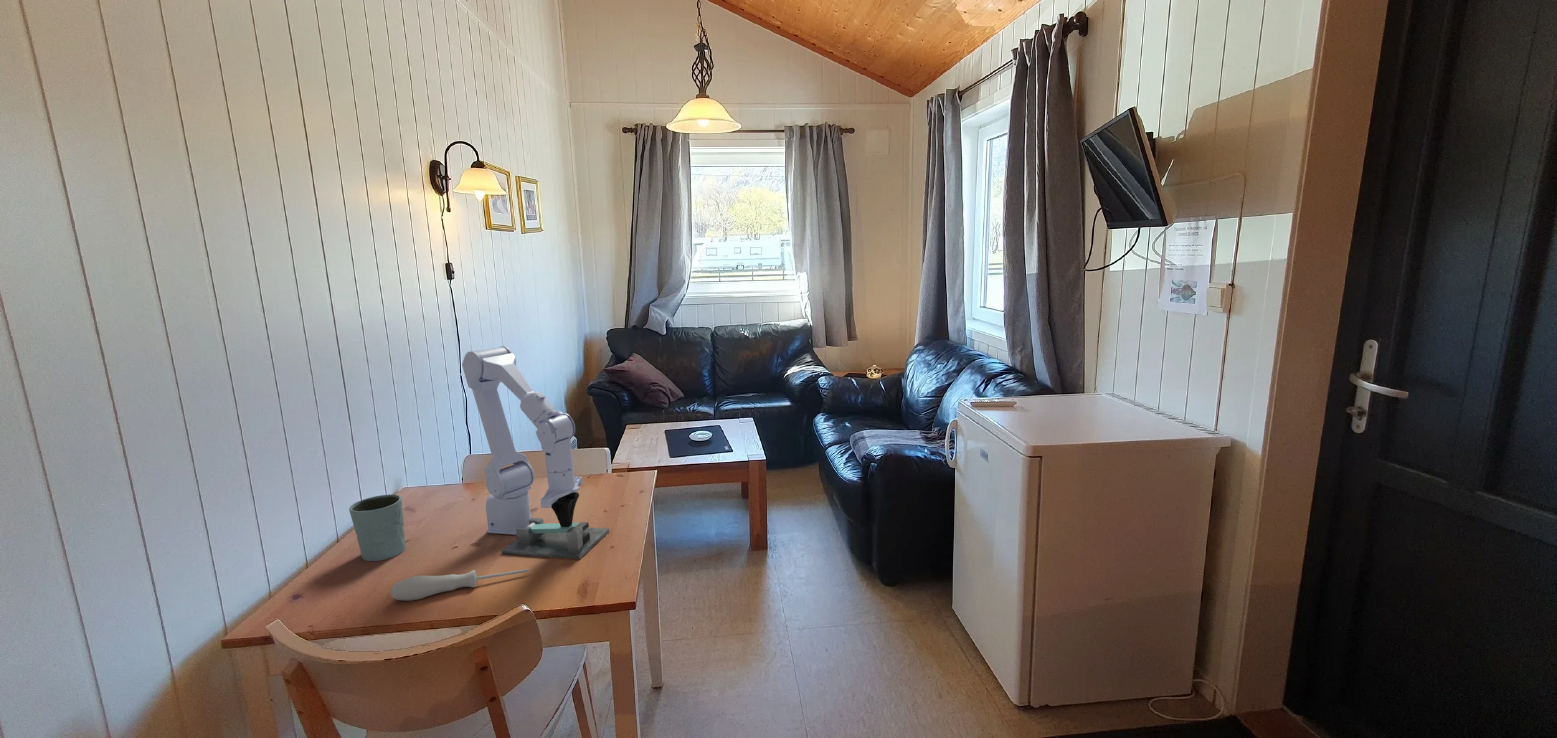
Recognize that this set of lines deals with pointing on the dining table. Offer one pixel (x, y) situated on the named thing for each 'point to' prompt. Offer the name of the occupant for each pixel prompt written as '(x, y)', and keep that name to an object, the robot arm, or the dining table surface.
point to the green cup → (379, 526)
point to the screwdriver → (437, 584)
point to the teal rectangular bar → (555, 527)
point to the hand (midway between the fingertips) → (566, 525)
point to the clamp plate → (554, 542)
